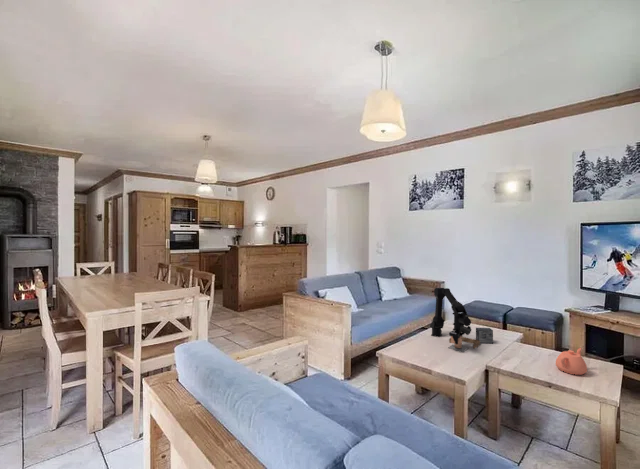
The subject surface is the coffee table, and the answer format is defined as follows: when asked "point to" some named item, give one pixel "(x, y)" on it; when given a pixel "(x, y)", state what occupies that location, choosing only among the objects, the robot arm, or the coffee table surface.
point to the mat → (458, 348)
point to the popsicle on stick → (458, 342)
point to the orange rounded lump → (571, 362)
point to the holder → (469, 341)
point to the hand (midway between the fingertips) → (458, 343)
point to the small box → (484, 335)
